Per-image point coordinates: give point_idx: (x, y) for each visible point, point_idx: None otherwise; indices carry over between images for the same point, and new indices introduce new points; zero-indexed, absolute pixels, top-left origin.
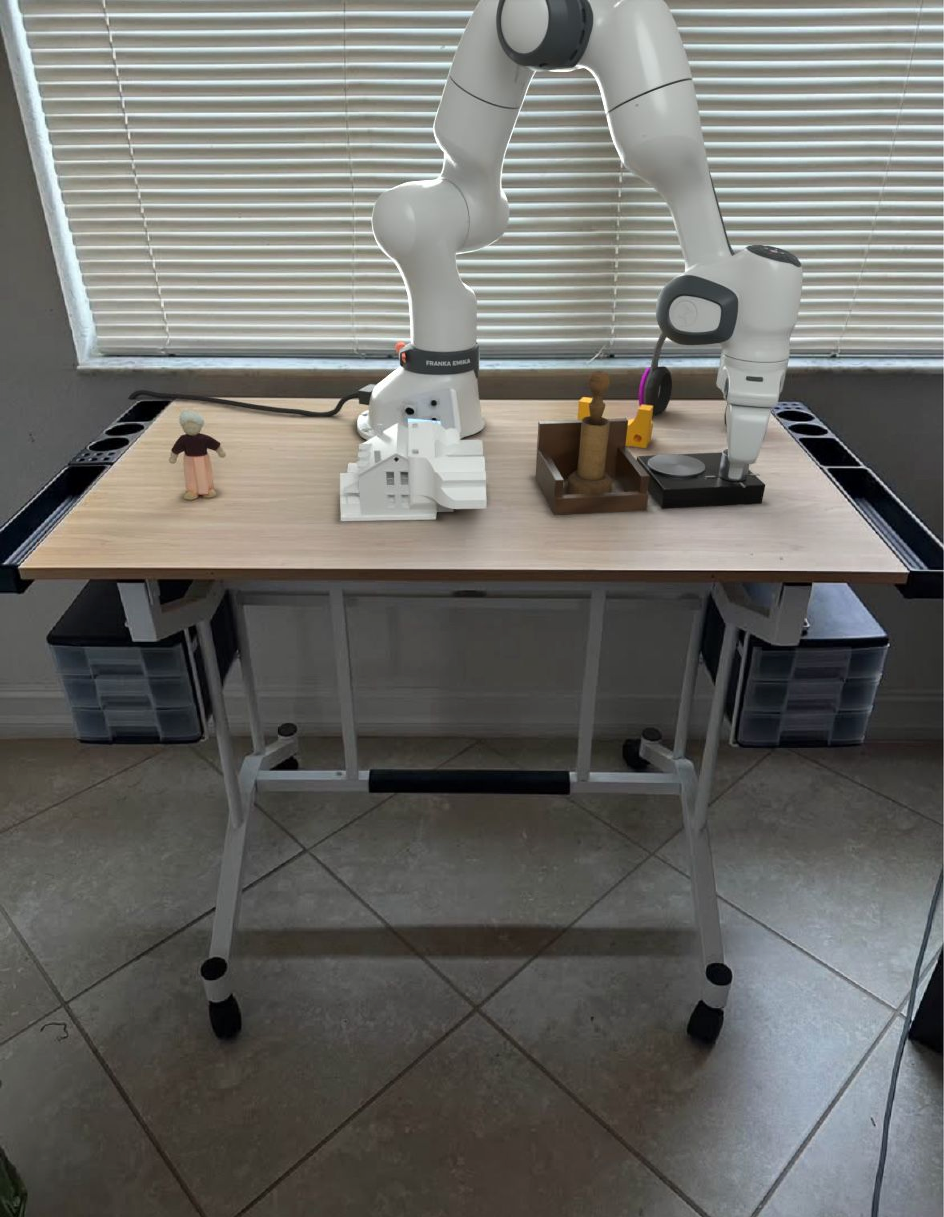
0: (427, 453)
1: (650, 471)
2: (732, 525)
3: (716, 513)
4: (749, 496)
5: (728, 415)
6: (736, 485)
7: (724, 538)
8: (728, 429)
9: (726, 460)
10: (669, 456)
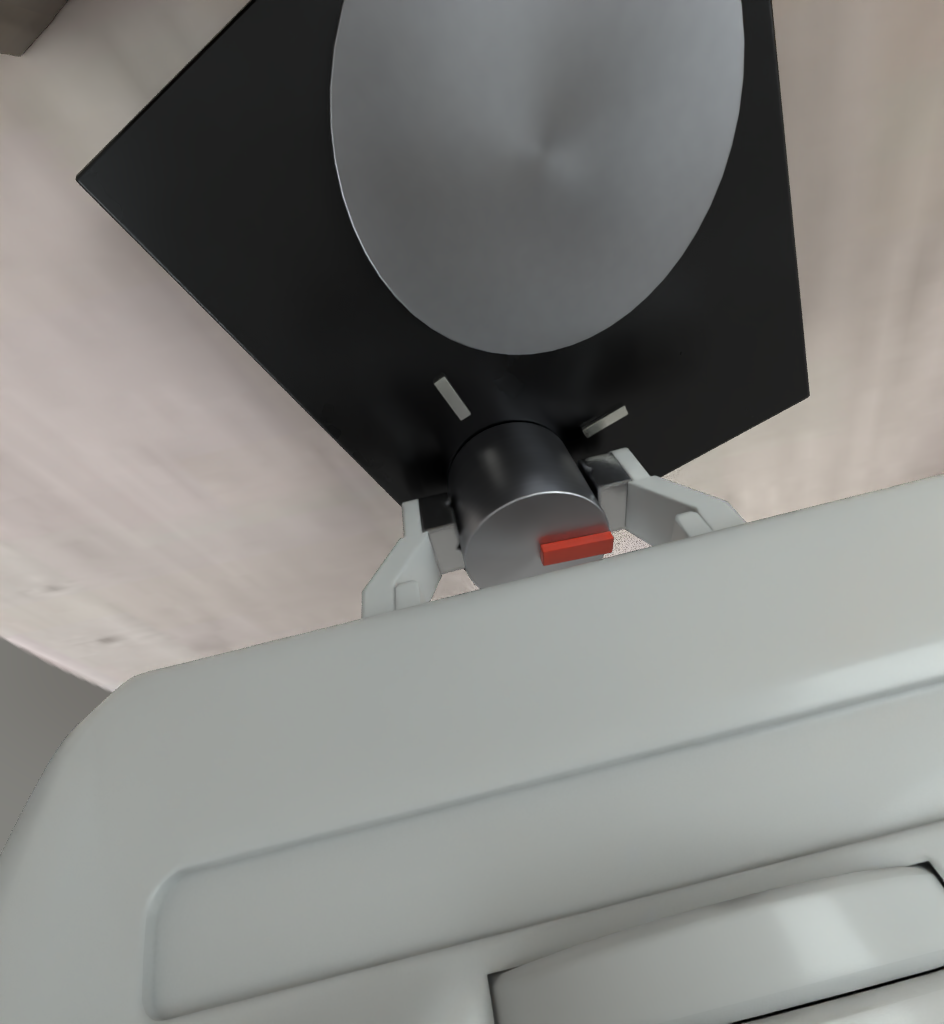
0: None
1: None
2: (224, 499)
3: (289, 429)
4: None
5: (790, 606)
6: None
7: (88, 504)
8: (516, 648)
9: (471, 511)
10: (689, 43)
